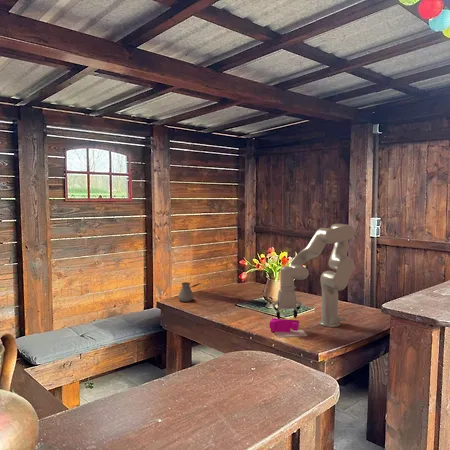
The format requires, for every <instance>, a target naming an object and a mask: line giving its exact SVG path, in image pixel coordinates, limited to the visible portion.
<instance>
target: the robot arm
mask: <svg viewBox="0 0 450 450" xmlns="http://www.w3.org/2000/svg"><path fill="white" fill-rule="evenodd" d="M355 231H356V230H355V228H354V227H353V226H352V225H350V224H345V223H333V224H332V225H331V226H330V228H327V227H319V228H318V229H317V230H316V231H315V233H314V234H313V236H312V238H311V239H310V240H309V242H308V244H307V245H306V246H305V247H304V248H303V249H302V250H301V251H299V252H298V253H297V254H296V255H295V256H294V257H293V258H292V260H291V262H290V263H289V265H287V266H286V265H283V266H281V268H280V282H279V283H280V285H279V287H280V289H279V290H278V293H277V300H276V301H275V302H273V303H271V306H272V307H273V310H275V311H276V319H281V312H280V311H281V310H285V309H286V310H289V309H294V310H293V318H294V319H297V317H298V312H299V310H300V309H301V307H302V304H303V303H302V302H300V301H298V300H297V296H296V295H297V294H296V291H295V289H297V286H296V285H295V280H298V281H299V280H301V281H302V280H303V281H304V280H305V279H307V278H308V277H309V275H310V273H309V270H308V268H306V267H305V266H303V265H304V264H305V263H306V262H307V261H310V260H311V259H315V258H317V257H319V256H320V254H321V253H322V251H323V249H324V248H325V246H326V245H327V244H329V245H330V244H333V248H332V250H331V253H330V255H329V256H330V257H329V260H328V266H329V268H330V269H332V270H334V271H332V270H326V271H323V272H322V273H321V275H320V279H319V280H320V287H321V314H320V315H321V319H319V320H318V324H319V325H320V326H323V327H328V328H337V327H340V326H341V322H346V321H347V318H346V317H342V316H339V291H343V290H345V288H346V287H348V284H349V282H350V278H351V276H352V273H353V269H354V260H353V259H352V258H351V257H350V256H348V252H349V246H350V244H349V240H351V239H352V238H353V237H354V236H355V233H356V232H355ZM297 304H298V305H297ZM276 306H277V307H276Z"/></svg>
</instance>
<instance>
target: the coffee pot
mask: <svg viewBox="0 0 450 450" xmlns="http://www.w3.org/2000/svg"><path fill="white" fill-rule="evenodd" d="M181 285H182V286H181V288H180V291H179V293H178V299H179V301H180V302H183V303H187V302H192V300H194V298H195V295H194V293H193V291H192V288H195V287H197V286H200V285H201V283H196V284H192V285H191V282H189V281H188V282H186V281H185V282H181ZM190 285H191V286H190Z"/></svg>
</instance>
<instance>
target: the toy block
mask: <svg viewBox="0 0 450 450" xmlns="http://www.w3.org/2000/svg"><path fill="white" fill-rule="evenodd" d="M299 328H300V320H298V319H287V318H280V319H278V318H277V317H274V318H273V317H272V318H271V319H270V321H269V329H270V332H273V333H275V332H289V333H290V330H293V331H297V330H299Z"/></svg>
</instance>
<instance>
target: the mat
mask: <svg viewBox="0 0 450 450" xmlns="http://www.w3.org/2000/svg"><path fill="white" fill-rule="evenodd" d="M274 333H275V335H276V336H277V338H293V337H294V338H295V337H297V338H298V337H299V338H300V337H308V334H307V333H306V332H305V331H304V330H303V329H298V330H297V331H293V329H290V333H289V332H274Z"/></svg>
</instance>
